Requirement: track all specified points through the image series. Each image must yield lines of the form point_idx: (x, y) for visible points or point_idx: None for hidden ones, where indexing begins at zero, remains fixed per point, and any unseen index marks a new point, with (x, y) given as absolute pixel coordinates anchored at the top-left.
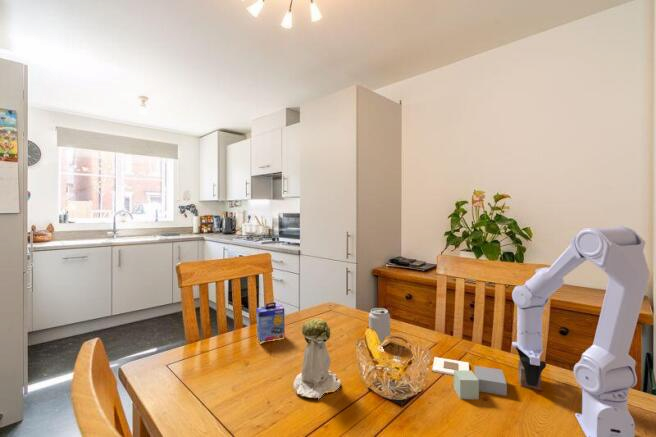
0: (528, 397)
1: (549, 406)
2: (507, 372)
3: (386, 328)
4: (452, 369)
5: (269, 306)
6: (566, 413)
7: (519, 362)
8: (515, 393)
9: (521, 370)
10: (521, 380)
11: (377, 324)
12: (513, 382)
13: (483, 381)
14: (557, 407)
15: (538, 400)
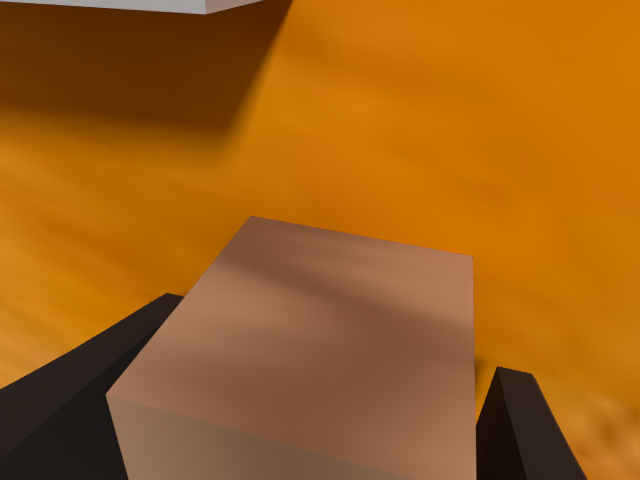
0: (63, 213)
1: (29, 318)
2: (621, 154)
3: None
4: None
5: None
6: (13, 376)
7: (371, 474)
8: (62, 104)
9: (134, 369)
10: (218, 261)
11: None
12: (312, 155)
13: None
14: (50, 360)
15: (64, 277)
